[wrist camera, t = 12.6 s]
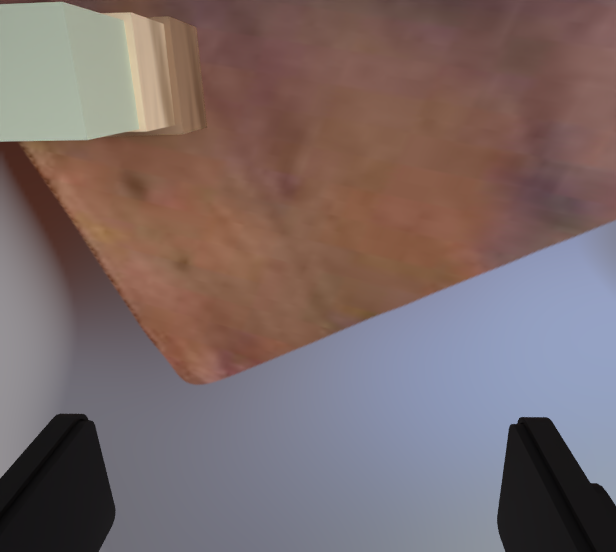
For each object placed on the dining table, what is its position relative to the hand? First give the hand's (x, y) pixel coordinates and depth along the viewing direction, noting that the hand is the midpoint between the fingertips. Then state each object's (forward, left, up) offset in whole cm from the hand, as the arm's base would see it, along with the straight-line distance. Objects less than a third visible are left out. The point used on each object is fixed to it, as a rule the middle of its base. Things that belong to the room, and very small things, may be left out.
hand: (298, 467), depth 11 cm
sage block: (+13, -9, -19) cm, 25 cm away
